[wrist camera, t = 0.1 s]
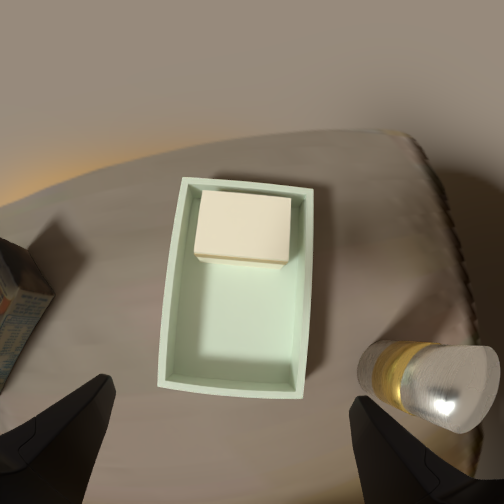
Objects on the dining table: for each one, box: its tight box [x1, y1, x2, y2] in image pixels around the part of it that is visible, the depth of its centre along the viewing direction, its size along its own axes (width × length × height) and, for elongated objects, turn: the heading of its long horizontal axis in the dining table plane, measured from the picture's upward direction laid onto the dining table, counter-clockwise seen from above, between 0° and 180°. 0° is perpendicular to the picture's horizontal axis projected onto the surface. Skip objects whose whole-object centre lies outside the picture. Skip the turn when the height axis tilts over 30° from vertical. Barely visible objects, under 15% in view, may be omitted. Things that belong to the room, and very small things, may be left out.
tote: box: [157, 177, 313, 399], centre depth 23 cm, size 17×11×4 cm, turn 175°
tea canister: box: [357, 340, 500, 433], centre depth 17 cm, size 6×6×13 cm
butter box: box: [194, 190, 291, 269], centre depth 23 cm, size 5×7×4 cm
